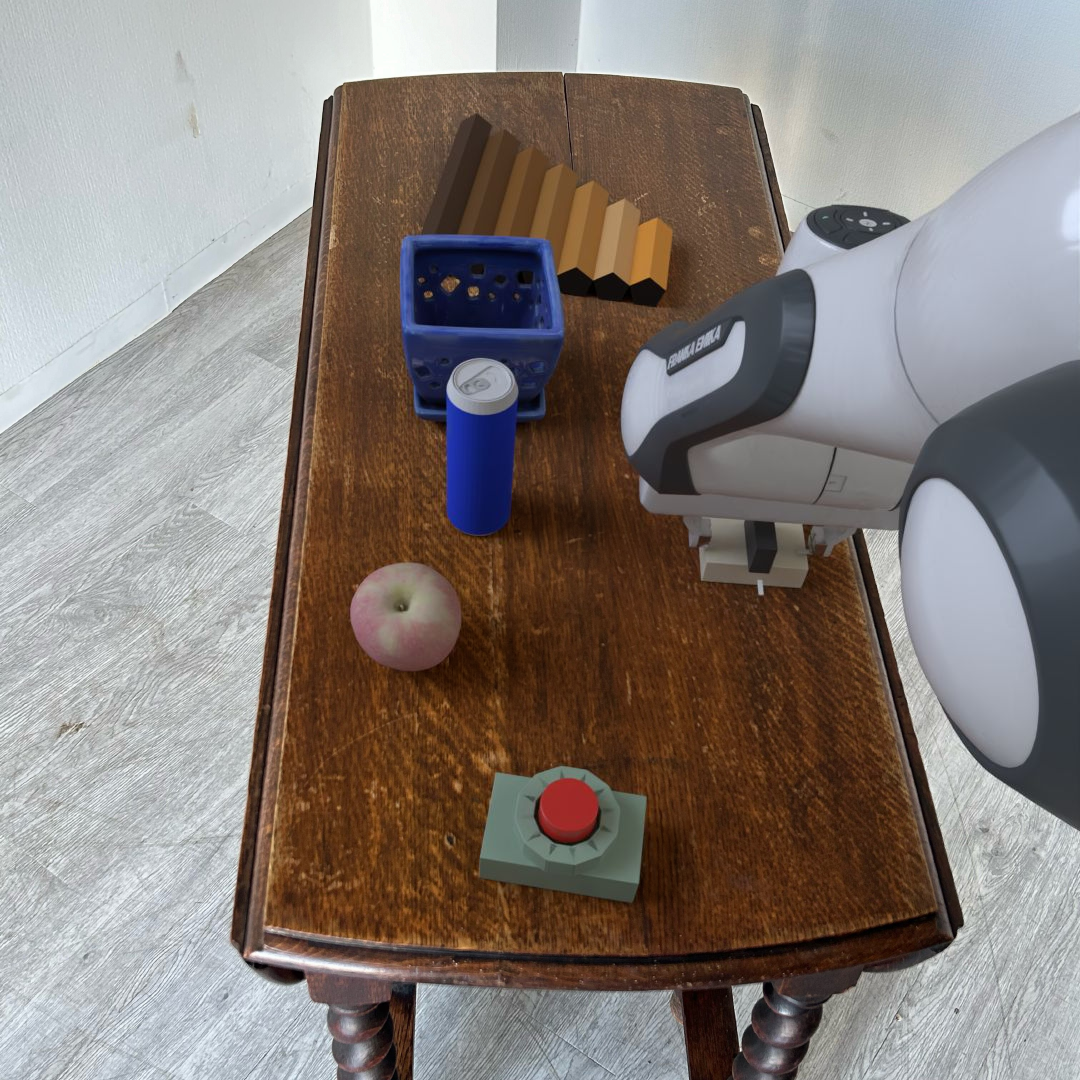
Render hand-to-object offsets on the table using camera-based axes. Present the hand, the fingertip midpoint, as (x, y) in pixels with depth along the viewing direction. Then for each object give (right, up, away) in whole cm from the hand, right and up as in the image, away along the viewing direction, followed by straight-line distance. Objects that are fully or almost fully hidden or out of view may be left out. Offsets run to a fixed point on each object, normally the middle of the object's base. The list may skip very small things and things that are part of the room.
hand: (757, 545), depth 87 cm
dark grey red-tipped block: (0, 0, 0) cm, 0 cm away
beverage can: (-22, +2, +4) cm, 23 cm away
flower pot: (-23, +14, +14) cm, 30 cm away
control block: (-16, -20, -14) cm, 29 cm away
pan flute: (-16, +35, +31) cm, 49 cm away
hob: (0, +3, +6) cm, 7 cm away
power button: (-15, -17, -17) cm, 29 cm away
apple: (-27, -8, -4) cm, 28 cm away
